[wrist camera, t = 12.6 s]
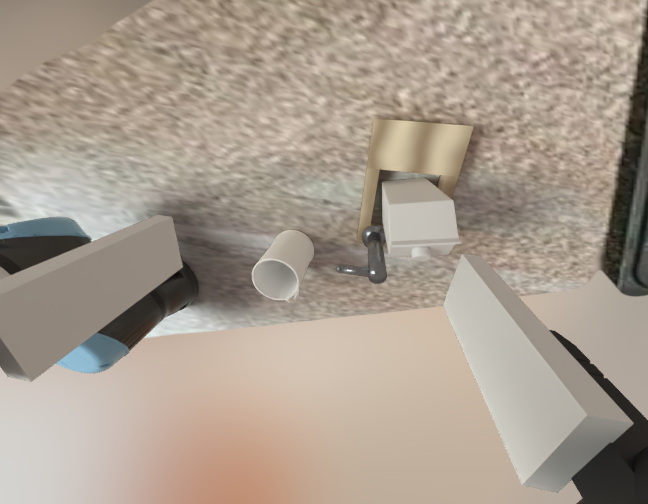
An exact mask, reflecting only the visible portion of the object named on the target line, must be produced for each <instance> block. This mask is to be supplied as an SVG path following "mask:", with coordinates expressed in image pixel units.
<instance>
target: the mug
mask: <svg viewBox="0 0 648 504" xmlns="http://www.w3.org/2000/svg"><path fill="white" fill-rule="evenodd" d="M313 256H314V246H313V243H312V241H311V240H310V239H309V237H308V236H306V235H305V234H304V233H302V232H300V231H297V230H286V231H283V232H281V233H280V234H279V235H278V236H277V237H276V238H275V240H274V243H273V244H272V245H271V246H270V248H269V249H268V250H267V251H266V253H265V254H264V255H263V256H262V257H261V259H260V260H259V261H258V262H257V264H256V265H255V266H254V268H253V270H252V281H253V284H254V286H255V287H256V289H257V290H258V291H259V292H260V293H261V294H262V295H264V296H266V297H267V298H270V299H273V300H286V301H287V302H289V303H295V302H296V301H297V300H298V297H299V293H300V284H301V282H302V279H303V277H304V274H305V272H306V270H307V267H308V265H309V263H310V262H311V260H312V258H313ZM294 295H295V297H294V299H293V300H292V299H291V297H293V296H294Z"/></svg>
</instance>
